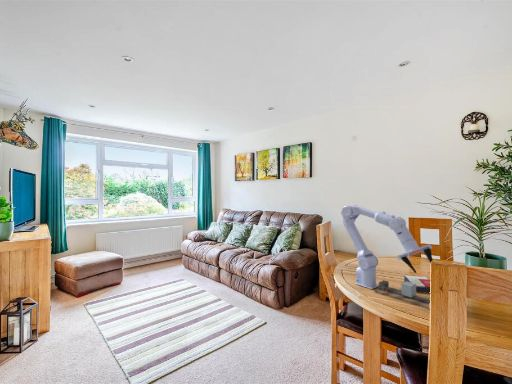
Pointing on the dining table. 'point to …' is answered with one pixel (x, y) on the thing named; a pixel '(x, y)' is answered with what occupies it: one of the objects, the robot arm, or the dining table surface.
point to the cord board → (397, 294)
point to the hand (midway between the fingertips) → (424, 269)
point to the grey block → (408, 289)
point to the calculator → (419, 283)
